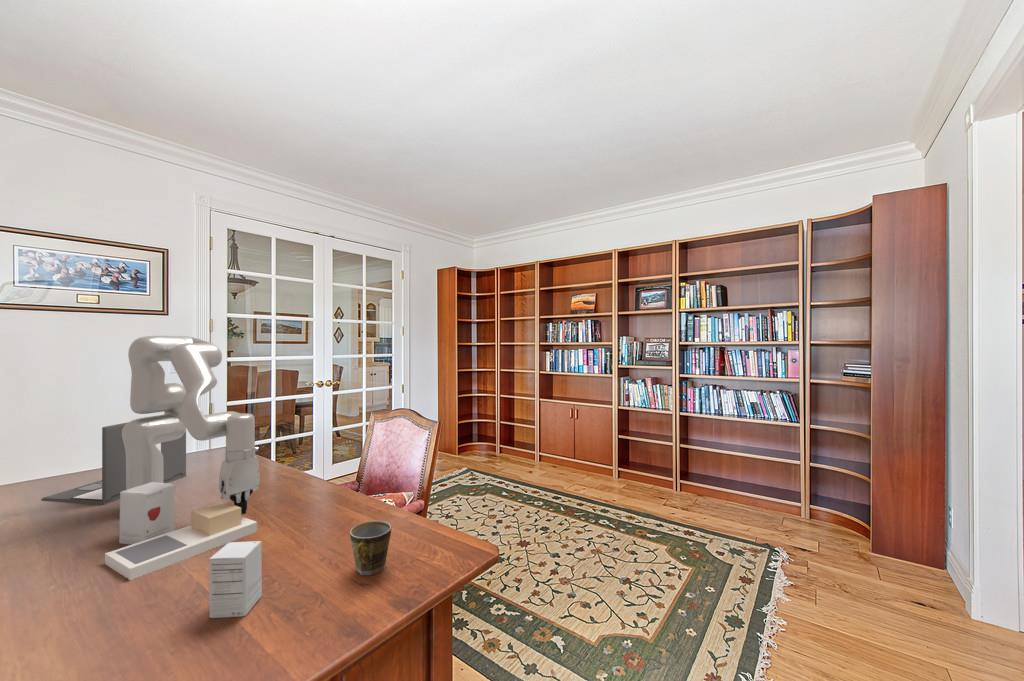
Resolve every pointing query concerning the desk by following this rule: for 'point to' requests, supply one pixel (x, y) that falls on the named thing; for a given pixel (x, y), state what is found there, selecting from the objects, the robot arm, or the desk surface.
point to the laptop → (122, 469)
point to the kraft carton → (215, 518)
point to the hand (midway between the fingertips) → (240, 513)
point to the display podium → (171, 549)
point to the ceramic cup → (370, 546)
